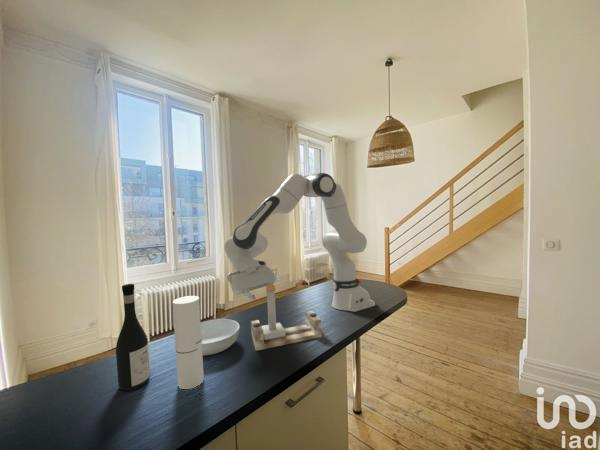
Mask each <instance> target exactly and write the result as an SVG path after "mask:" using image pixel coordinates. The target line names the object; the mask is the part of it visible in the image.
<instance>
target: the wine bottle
mask: <svg viewBox="0 0 600 450" xmlns="http://www.w3.org/2000/svg"><path fill="white" fill-rule="evenodd" d="M121 291H122V298H123V299H122V300H123V307H124V308H123V309H124V317H123V318H124V319H123V322H122V323H123V324H122V327H121V329H120V332H119V335H118V337H117V341H116V347H115V355H116V356H115V357H116V372H117V383H118V387H119V389H120V390H121V391H127V390H128V391H133V390H136V389H138V387H139V388H141V387H142V386H144V385H145V384H146V383H147V382H148V381H149V379H150V377H151V367H150V352H149V351H150V350H149V341H148V337H147V335H146V332H145V330H144V329H143V327H142V325H141V324H140V322H139V320H138V317H137V314H136V304H135V303H136V302H135V301H136V300H135V284H134V283H128V284H127V283H126V284H123V285H122V286H121ZM140 386H141V387H140ZM135 388H136V389H135ZM132 389H133V390H132Z"/></svg>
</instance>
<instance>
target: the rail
mask: <svg viewBox="0 0 600 450" xmlns="http://www.w3.org/2000/svg"><path fill="white" fill-rule="evenodd" d="M304 314H305V315H304V317H305V324H301V325H296V326H291V327H284V330H285V336H282V337H277V338H272V339H267V340H264V336H263V329H262V327H261V326H262V325H261V323H260V320H259V319H254V320H250V328H251V329H250V330H251V331H250V334H251V340H252V344H253V346H254V349H255V352H256V351H261V350H262V351H263V350H266V349H271V348H276V347H281V346H286V345H289V344H295V343H299V342H305V341H309V340H312V339H313V340H314V339H318V338H322V337H323V335H322V330H323V329H322V319H321V318H320V317H319V316H318V315H317V313H315V312H314V311H313V310H308V311H305V312H304Z"/></svg>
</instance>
